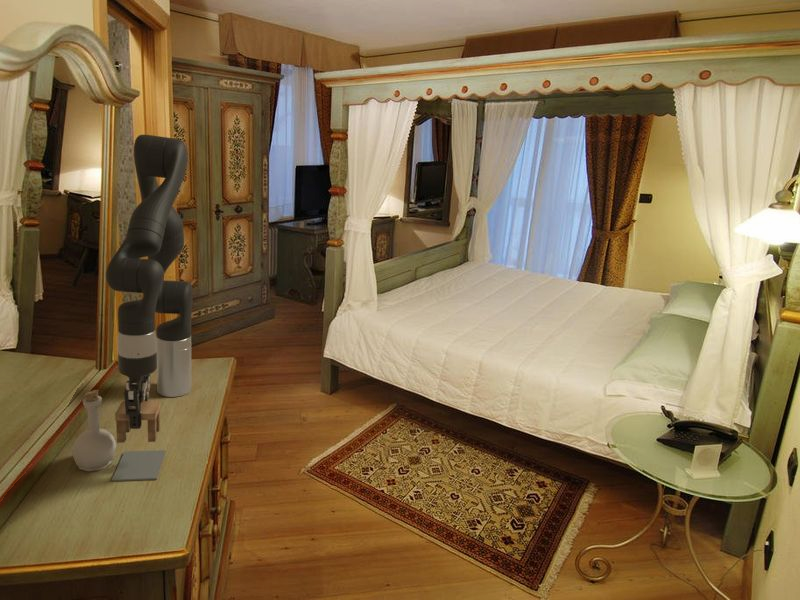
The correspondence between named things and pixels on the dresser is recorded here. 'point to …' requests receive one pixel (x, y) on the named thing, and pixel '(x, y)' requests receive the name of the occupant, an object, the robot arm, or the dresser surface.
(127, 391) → the robot arm
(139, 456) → the mat
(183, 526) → the dresser surface
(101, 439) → the potion bottle
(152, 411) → the small wooden bench
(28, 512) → the dresser surface
